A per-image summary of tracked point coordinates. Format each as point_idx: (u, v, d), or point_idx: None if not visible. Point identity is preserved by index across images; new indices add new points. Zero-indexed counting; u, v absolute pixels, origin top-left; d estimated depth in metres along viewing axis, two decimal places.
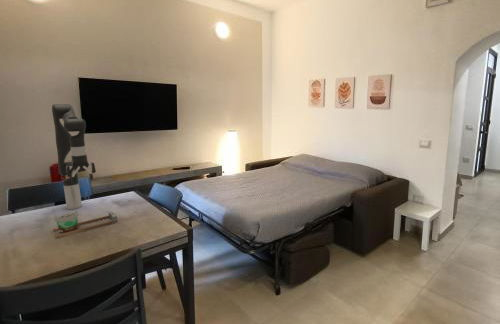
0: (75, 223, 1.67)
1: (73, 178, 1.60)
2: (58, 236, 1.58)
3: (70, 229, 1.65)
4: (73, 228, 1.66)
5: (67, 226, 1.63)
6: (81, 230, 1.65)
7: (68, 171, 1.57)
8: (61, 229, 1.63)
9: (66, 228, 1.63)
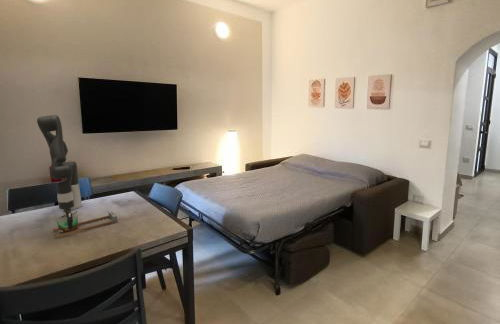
0: (75, 223, 1.67)
1: None
2: (58, 236, 1.58)
3: (70, 229, 1.65)
4: (73, 228, 1.66)
5: (67, 226, 1.63)
6: (81, 230, 1.65)
7: None
8: (61, 229, 1.63)
9: (66, 228, 1.63)
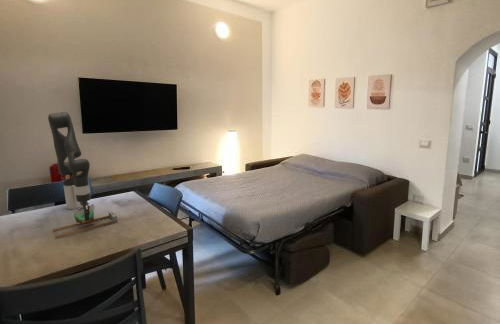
0: (91, 216, 1.72)
1: None
2: (58, 236, 1.58)
3: (87, 221, 1.69)
4: (89, 220, 1.71)
5: (84, 218, 1.68)
6: (81, 230, 1.65)
7: None
8: (78, 221, 1.68)
9: (83, 220, 1.68)
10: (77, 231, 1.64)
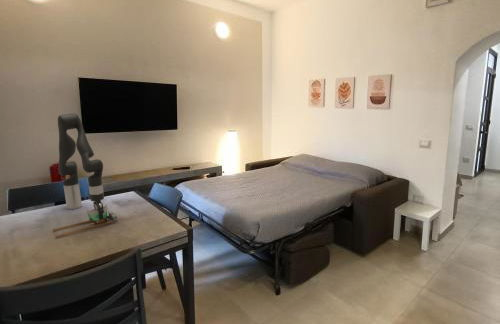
0: (105, 216, 1.76)
1: None
2: (58, 236, 1.58)
3: (101, 222, 1.74)
4: (103, 221, 1.75)
5: (98, 219, 1.73)
6: (81, 230, 1.65)
7: None
8: (92, 222, 1.73)
9: (97, 221, 1.73)
10: (77, 231, 1.64)
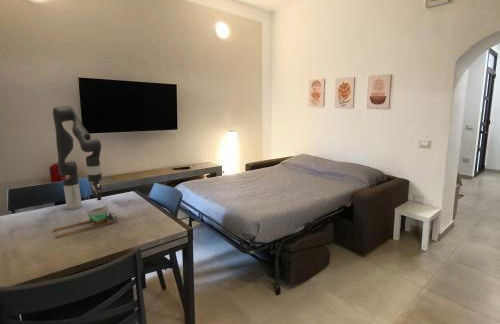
0: (105, 216, 1.76)
1: (100, 195, 1.70)
2: (58, 236, 1.58)
3: (101, 222, 1.74)
4: (103, 221, 1.75)
5: (98, 219, 1.73)
6: (81, 230, 1.65)
7: None
8: (93, 222, 1.73)
9: (97, 221, 1.73)
10: (77, 231, 1.64)
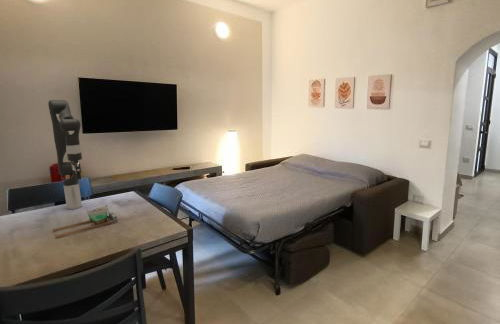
0: (105, 216, 1.76)
1: (80, 174, 1.72)
2: (58, 236, 1.58)
3: (101, 222, 1.74)
4: (103, 221, 1.75)
5: (98, 219, 1.73)
6: (81, 230, 1.65)
7: None
8: (93, 222, 1.73)
9: (97, 221, 1.73)
10: (77, 231, 1.64)
